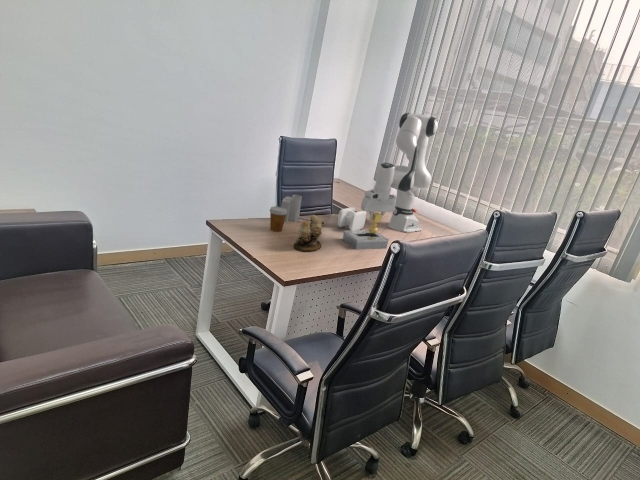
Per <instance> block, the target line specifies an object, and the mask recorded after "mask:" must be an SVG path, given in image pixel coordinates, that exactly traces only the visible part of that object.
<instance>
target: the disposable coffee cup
mask: <svg viewBox="0 0 640 480" xmlns="http://www.w3.org/2000/svg"><path fill="white" fill-rule="evenodd" d="M269 213H270V214H269V215H270V218H269V220H270V224H269V225H270V231H272V232H274V233H275V232H276V233H280V232H282V231H283V228H284V224H285V222H284V221H285V217H286V214H287V209H286V208H283V207H281V206H271V207H270V209H269Z"/></svg>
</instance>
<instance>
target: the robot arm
mask: <svg viewBox="0 0 640 480" xmlns="http://www.w3.org/2000/svg"><path fill="white" fill-rule="evenodd" d="M398 122H399V123H398V127H399V131H398V133H397V135H396V138H395V143H396V146H397V148H398V149H399V151H401V152H402V153H403V154H405V155H406V159H407V160H408V165H394V164H392V163H390V162H383V163H380V165H379V168H378V170H377V171H376V172H377V173H376V177H375V184H374V187H373V188H372V189H369V190H366V191H365V192H364V196H363V198H362V200H361V206H360V209H361V210H362V211H366V212H368V213H369V219H374V216H373V214H372V213H379V212H380V214H381V215H382V218H381V220H382V219H383V217H384V216H385V214H386V212H387V213H388V212H389V213H391V217H390V219H389V221H388V223H387V227H389V229H393V230H395V231H398V232H404V233H408V234H409V232H410V233H416V232H415V231H417V232H421V231H422V228H421V227H419V225H420V221H419V219H418V218H417V217H416V215H414V213H415V214H416V213H417V212H418V209H415V208H413V206H414V203H415V194H414V193H413V192H412V191H411V190H412V189H413V188H416V189H427V188H428V187H430V185H431V183H432V176H431V173H430V172H429V171H428V169H427V167H426V166H427V165H426V153H427V149H428V144H429V139H430V137H432V136H434V135H435V134H436V133H437V130H438V128H439V121H438V119H437V117H435V116H429V115H425V114H423V113H422V114H421V113H420V114H419V113H411V112H405V113H403V114H402V115H401V117H400V119H399V121H398ZM392 189H396V195H395V194H391V191H392ZM420 230H421V231H420Z"/></svg>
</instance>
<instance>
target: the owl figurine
mask: <svg viewBox="0 0 640 480" xmlns="http://www.w3.org/2000/svg"><path fill="white" fill-rule="evenodd" d="M309 219H310V221H306V220H302V224H301V225H300V227H299V232H298V237H296V239H295V241H296V242H295V243H294V244H293V248H294V249H295V250H296V251H298V252H302V253H315V252H317V251H319V250H320V249H321V248H322V243H321V242H320V241H319V237H321V234H323V233H322V230H323V227H322V225H323V224H322V222H323V221H322V219H321V218H320V217H318V216H317V215H315V214H312V215H311V216H310V218H309Z"/></svg>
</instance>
